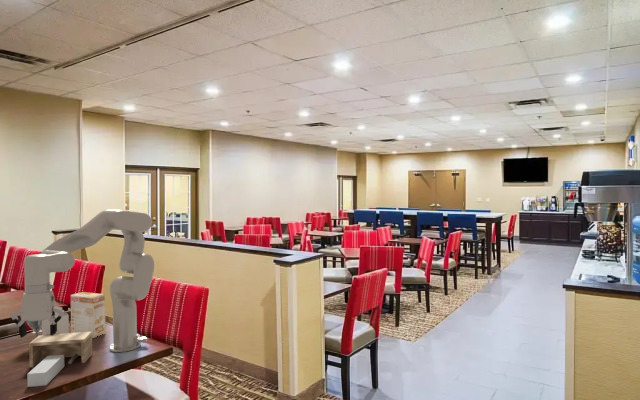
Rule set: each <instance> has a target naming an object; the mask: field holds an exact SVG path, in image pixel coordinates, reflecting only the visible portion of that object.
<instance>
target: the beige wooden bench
mask: <svg viewBox="0 0 640 400" xmlns="http://www.w3.org/2000/svg"><path fill="white" fill-rule="evenodd" d="M28 345H29V347H28V348H29V349H28V350H29V352H28V355H29V358H28V359H29V368H34V367H36V366H37V365H38V364H39V363H40V362H41V361H42V360H43V359H45V358H46V357H47V356H54V355H64V358H70V359H69V360H68V361H67V364H68V365H72V364H73V362H74V361H75V360H76V359H77V358H78V357H81V364H86V362H87V361H88V360H89V359H90V357H91V356H92V355H93V338H92V332H78V333H71V332H69V333H64V334H54V335H53V336H51V335H50V334H49V335H42V334H39V336H38V337H37V338H36V337H35V338H34V339H32V341H30V342H29V343H28Z"/></svg>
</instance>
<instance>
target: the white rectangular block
mask: <svg viewBox="0 0 640 400" xmlns="http://www.w3.org/2000/svg"><path fill="white" fill-rule="evenodd" d="M64 367H65V357H64V355H54V356H47V357H46V358H45V359H42V360H41V361H39V362H38V363H37V364H36V365H35V366H34V367H32V369H31V370H30V371H29V372H27V377H26V378H27V388H28V387H42V386H47V385H48V384H49V383H50V382H51V381H52V380H53V379H54V378H55V377H56V376H57V375H58V374H59V373H60V372H61V370H63V369H64Z"/></svg>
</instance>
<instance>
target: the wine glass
mask: <svg viewBox="0 0 640 400" xmlns="http://www.w3.org/2000/svg"><path fill="white" fill-rule="evenodd" d="M26 325H27V327H29V328H30V329H32V330H33V331H34V333H35V338H37V337H38V336H39V335H40V331H41V330H42V320H39V321H26ZM27 347H28V348H29V344H28V346H27Z"/></svg>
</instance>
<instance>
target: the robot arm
mask: <svg viewBox="0 0 640 400" xmlns="http://www.w3.org/2000/svg"><path fill="white" fill-rule="evenodd" d="M152 225H153V220H152V218H151V215H149V214H148V213H146V212H138V211H130V210H123V209H122V210H121V209H104V210H101V211H100V212H99V213H97V214H96V215H95V216H94V217H92V218H91V219H90V220H89V221H87V223H85V224H84V225H82V226H81V227H80V228H78V229H77V230H75V231H72V232H70V233H68V234H67V235H65V236H64V235H63V236H62V237H60V238H58V239H57V240H55V241H53V242H52V243H50V245H48V246H47V247H46V248H44V249H43V250H42V251H41V252H40V253H34V254H29V255H27V256H25V258H24V260H23V261H24V263H23V265H24V270H23V272H24V293H22V297H21V302H20V309H19V310H17V311H15V312H13V313H11V314H10V318H11V319H12V322H13V323H14V324H16V326H17V327H18V334H19V338H21V339H22V338H24V337H26V336H27V334H28V333H27V332H28V331H27V327H28V325H27V321H39V320H48V321H49V322H50V323H51V325H50V335H51V336H53V335H54V334H55V333H56V332H57V322H58V321H59V320H60V319H61V318H62V316H63V315H64V313H65V312H66V310H64V309H63V308H62V309H59V308H57V307H56V299H55V295H54V291H53V290H51V289H54V288H55V284H51V280H50V279H51V276H50V275H51V273H62V272H63V273H65V272H67V271H69V270H71V269H72V268H73V267H74V266H75V263H76V259H75V257H74V255H73V254H72V253H73V252H75V251H79V250H82V249H87V248H91V247H92V246H94V245H97V243H99V242H100V241H101V240H102V239H103V238H104V237H105V236H106V235H108V234H109V233H110V232H111V231H113V230H114V231H121V233H122V235H123V237H124V242H123V243H124V244H123V246H122V252H121V256H120V259H119V260H120V261H119V265H118V266H119V270H120V271H121V272H122V273H125V274H131V275H133V276H128V275H127V276H126V275H121V276H117V277H115V278H114V279H113V280H112V281H111V283H110V286H109V293H110V297H111V298H110V299H111V304H112V329H113V330H112V331H113V334H112V335H113V339H112V342H113V343H111V344H110V345H109V351H111V352H114V353H126V352H131V351H134V350H136V349H138V348H139V347H140V346H141V345H142V343H147V342H148V338H147V337H146V336H140V334H139V333H138V329H137V325H138V323H137V322H138V321H137V320H138V319H137V318H138V317H137V314H138V313H137V303H136V301H141V300H143V299H145V298H146V297H147V295H148V294H149V291H150V288H151V283H152V279H153V276H154V271H155V260H154V258H153V257H152V255H150V254H149V253H145V252H144V250H145V242H146V241H145V240H146V239H145V236H144V233H146V232H148V231H149V230H150V229H151V227H152ZM56 313H58V314H59V315H58V317H57V318H56V317H55V315H56ZM19 314H20V315H19ZM18 315H19V317H18Z"/></svg>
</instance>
